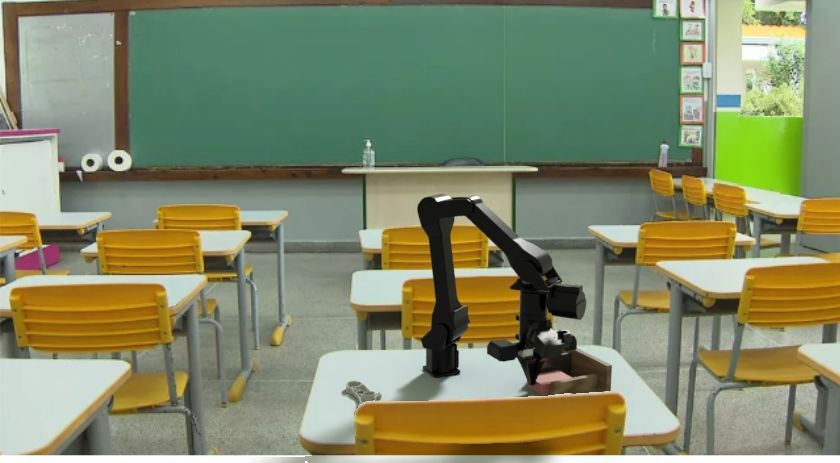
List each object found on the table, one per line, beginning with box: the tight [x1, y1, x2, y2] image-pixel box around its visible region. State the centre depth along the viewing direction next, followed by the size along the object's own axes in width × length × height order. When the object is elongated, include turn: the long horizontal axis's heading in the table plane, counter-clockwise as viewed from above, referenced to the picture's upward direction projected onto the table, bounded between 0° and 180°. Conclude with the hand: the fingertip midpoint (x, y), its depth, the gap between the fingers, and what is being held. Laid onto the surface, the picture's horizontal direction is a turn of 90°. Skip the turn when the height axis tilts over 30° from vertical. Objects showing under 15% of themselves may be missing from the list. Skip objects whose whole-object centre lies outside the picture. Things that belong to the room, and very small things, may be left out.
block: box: [526, 370, 573, 396], centre depth 160 cm, size 8×6×3 cm
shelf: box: [539, 347, 613, 395], centre depth 161 cm, size 12×16×6 cm
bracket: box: [345, 380, 383, 408], centre depth 153 cm, size 8×2×15 cm
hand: (531, 384), depth 158 cm, fingers closed
